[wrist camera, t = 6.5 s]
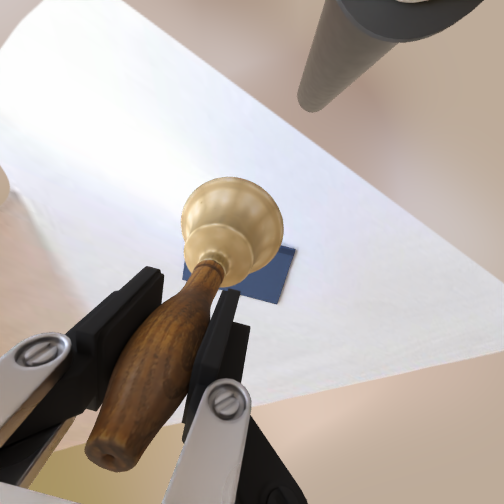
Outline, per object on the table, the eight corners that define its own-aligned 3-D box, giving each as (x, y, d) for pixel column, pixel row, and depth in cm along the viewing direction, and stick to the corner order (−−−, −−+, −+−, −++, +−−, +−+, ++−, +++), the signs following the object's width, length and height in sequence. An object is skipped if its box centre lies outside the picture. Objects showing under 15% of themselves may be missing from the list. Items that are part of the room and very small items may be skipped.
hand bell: (247, 290, 22) (193, 564, 8) (165, 241, 21) (-77, 460, 7) (305, 216, 19) (390, 451, 5) (212, 153, 18) (-60, 208, 3)
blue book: (190, 222, 37) (189, 222, 37) (295, 249, 37) (295, 250, 36) (182, 278, 41) (182, 280, 41) (277, 303, 41) (277, 304, 41)
